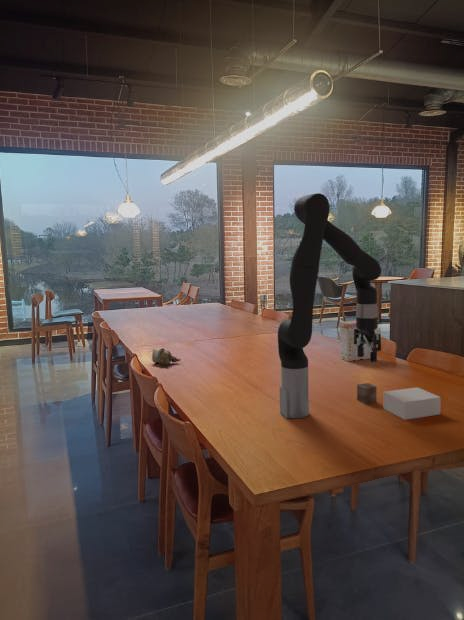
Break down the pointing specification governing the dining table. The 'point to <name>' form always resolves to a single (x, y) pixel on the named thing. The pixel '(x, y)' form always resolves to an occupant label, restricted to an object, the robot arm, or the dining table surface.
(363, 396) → the walnut block
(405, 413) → the block
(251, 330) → the dining table surface
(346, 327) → the coffeecake box
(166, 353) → the ceramic sculpture
